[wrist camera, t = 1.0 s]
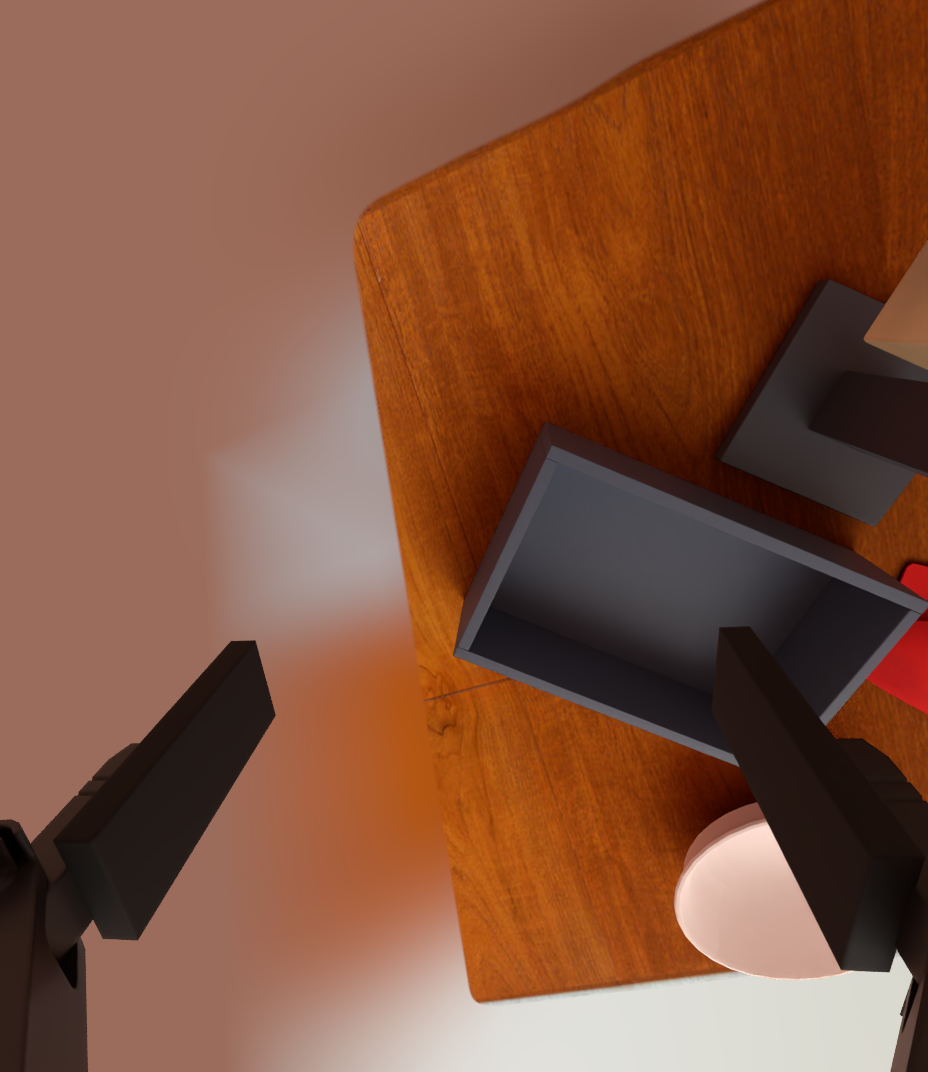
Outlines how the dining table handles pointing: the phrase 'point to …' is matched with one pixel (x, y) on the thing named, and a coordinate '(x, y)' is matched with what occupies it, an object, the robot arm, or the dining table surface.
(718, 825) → the bowl
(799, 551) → the bin
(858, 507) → the stand
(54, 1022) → the robot arm
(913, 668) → the cloth
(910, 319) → the mallet
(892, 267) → the dining table surface
